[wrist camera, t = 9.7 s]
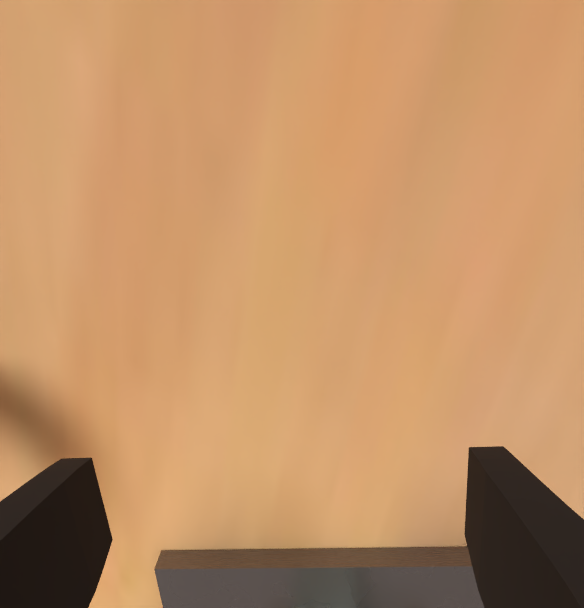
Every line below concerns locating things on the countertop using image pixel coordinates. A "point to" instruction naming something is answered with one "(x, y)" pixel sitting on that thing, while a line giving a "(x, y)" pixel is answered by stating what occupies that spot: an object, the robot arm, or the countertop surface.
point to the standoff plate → (318, 578)
